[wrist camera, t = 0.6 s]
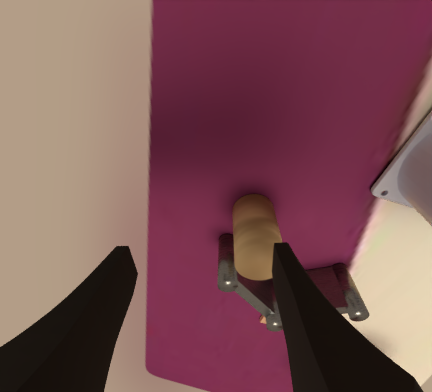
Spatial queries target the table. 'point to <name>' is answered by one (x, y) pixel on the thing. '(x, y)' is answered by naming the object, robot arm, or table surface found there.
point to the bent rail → (265, 296)
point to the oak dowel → (254, 236)
